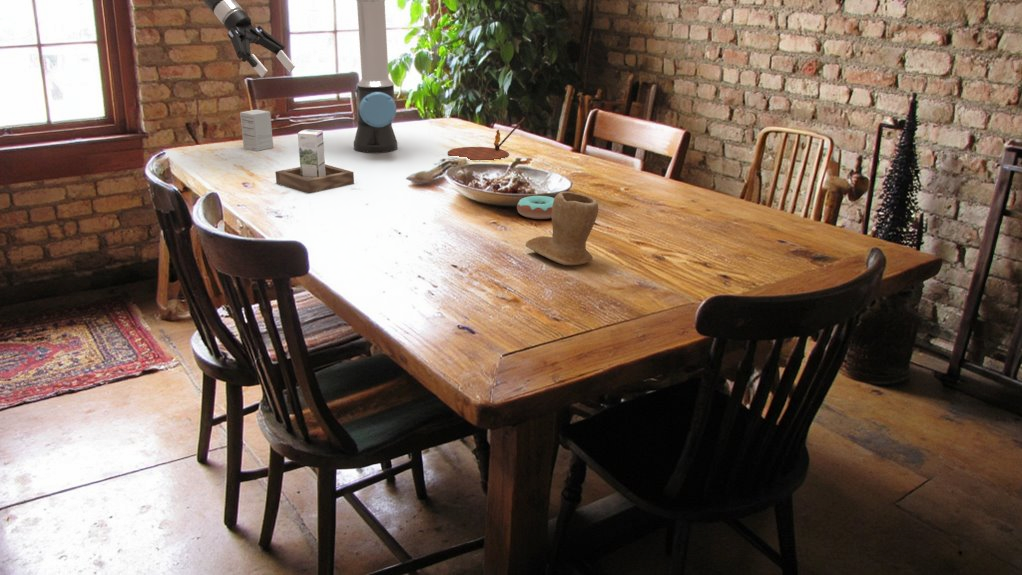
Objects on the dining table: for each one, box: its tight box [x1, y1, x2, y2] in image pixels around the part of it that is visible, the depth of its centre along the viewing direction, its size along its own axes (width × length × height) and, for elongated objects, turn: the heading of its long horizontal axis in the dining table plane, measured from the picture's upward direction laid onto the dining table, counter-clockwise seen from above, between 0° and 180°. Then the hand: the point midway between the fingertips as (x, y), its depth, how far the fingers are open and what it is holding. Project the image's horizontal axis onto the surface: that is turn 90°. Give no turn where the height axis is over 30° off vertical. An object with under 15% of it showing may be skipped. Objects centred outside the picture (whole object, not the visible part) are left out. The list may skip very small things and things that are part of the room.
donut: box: [516, 195, 555, 220], centre depth 222 cm, size 12×12×4 cm
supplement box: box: [239, 109, 274, 152], centre depth 290 cm, size 7×7×13 cm
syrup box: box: [297, 129, 326, 179], centre depth 245 cm, size 6×6×14 cm
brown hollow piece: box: [525, 191, 599, 266], centre depth 187 cm, size 15×12×15 cm
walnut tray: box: [274, 163, 355, 194], centre depth 248 cm, size 16×16×4 cm
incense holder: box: [447, 117, 526, 161], centre depth 290 cm, size 21×30×11 cm
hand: (278, 71), depth 254 cm, fingers open, 13 cm apart
